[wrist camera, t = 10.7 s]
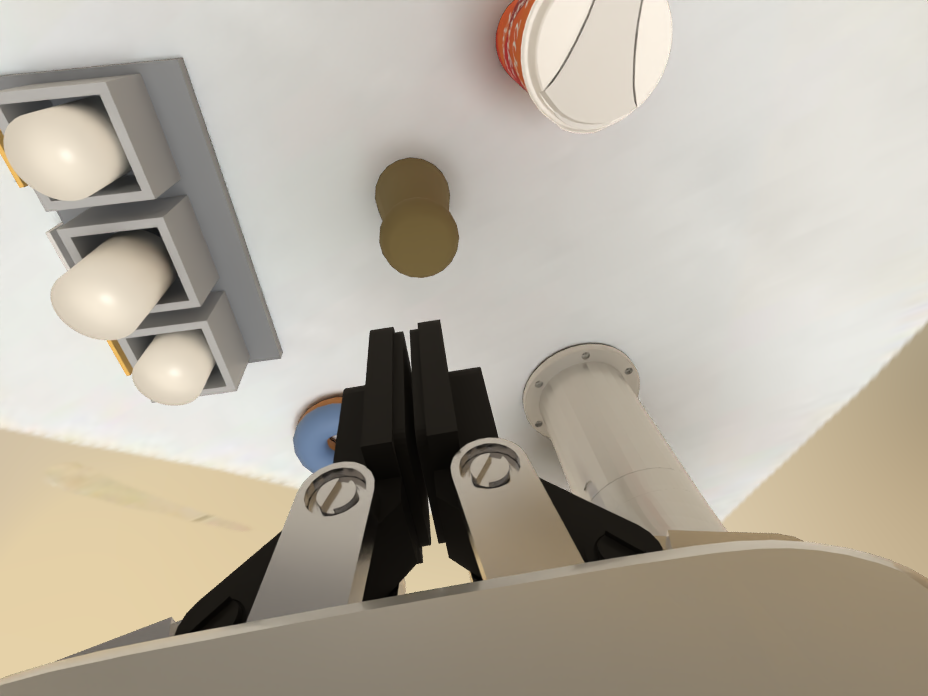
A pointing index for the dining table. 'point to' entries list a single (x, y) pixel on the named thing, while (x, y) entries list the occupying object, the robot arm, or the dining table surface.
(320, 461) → the doughnut
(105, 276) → the button mid
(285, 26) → the dining table surface
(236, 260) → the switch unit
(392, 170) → the cork
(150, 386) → the button
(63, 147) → the button
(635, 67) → the paper cup
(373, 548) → the robot arm
